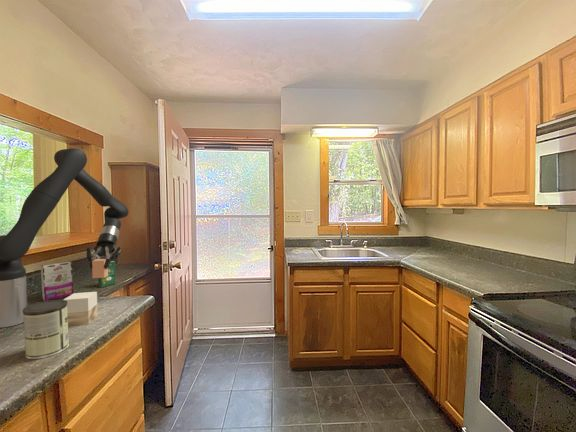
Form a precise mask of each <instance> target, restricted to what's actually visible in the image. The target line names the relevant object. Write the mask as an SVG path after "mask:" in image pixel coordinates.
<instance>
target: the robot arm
mask: <svg viewBox="0 0 576 432" xmlns="http://www.w3.org/2000/svg"><path fill="white" fill-rule="evenodd" d="M87 157H88V156H87V154H86V152H85V151H83V150H82V149H80V148H75V147H72V148H64V149H59V150H57V151H56V152H55V153H54V156H53V160H54V162H55V164H56V166H57V167H56V168H55V170H54V171H53V172H52V173H50V174H49V175H48V176H47V177H46V178H44V179H43V180H42V181H40V182H39V183H37V185H35V187H34V188H33V189H32V190H31V192H30V193H28V196H27V197H26V199H25V200H24V202H23V204H22V207H21V210H20V215H19V218H18V220H17V222H16V223H15V225H13V226H12V228H11V229H10V231H9V232H8V233H7V234H2V235H0V328H7V327H8V328H9V327H12V326H17V325H19V324H24V316H23V309H24V308H25V307H27V306H28V291H27V290H28V287H27V269H26V268H25V266H24V265H23V264H22V259H21V258H23V257H24V256H25V255H26V254H27V253H28V252H29V249H30V248H31V246H32V244H33V241H34V240H35V238H36V237H37V234H38V232H39V230H40V229H41V228H42V227H43V225H44V224H45V222H46V221H47V219H48V218H49V216H50V215H51V214H52V212H53V211H54V210H55V208H56V207H57V205H58V203H59V202H60V200H61V199H62V197H63V196H64V194H65V193H66V192H67V190H68V189H69V187H70V186H71V183H72V182H73V181H74V180H75V181H76V182H77V183H78V184H79V185H80V186H81V187H82V188H83V189H84V190H85V191H86V192H87V193H88V194H89V195H90V196H91V197H92V198H93V199H94V201H96V202H97V204H98V205H99V206H100V207H104V208H105V207H107V208H106V209H105V210H104V212H103V215H104V216H103V217H104V220H103V221H104V223H103V225H102V229H101V230H100V233H99V236H98V238H97V241H96V245H95V246H94V247H93V248H90V247H88V248H86V259H87V261H88V262H89V265H88V266H89V268H90V270H92V261H93V260H95V259H101V258H102V257H106V259H107V260H106V261H105V264H104V268H105V269H107V268H108V267H109V265H110V262H111V261H115V262H116V261H117V259H118V258H119V256H120V255H121V253H122V248H121V247H120V246H119V247H117V242H118V240H119V234H120V230H121V226H122V222H121V221H120V219H123V218H125V217H128V216H129V207H127V205H126V204H125V203H123V202H121V200H119V199H117V198H116V197H115V196H113V195H112V193H111V192H110V191H109V190H108V189H107V188H106V187H105V186H104V184H102V183H101V182H99V181H98V180H97V179H95V178H94V177H92V176H91V175H90V174H89V173H88V172H87V171H86V170H85V169H84V168H85V167H86V165H87V163H88V158H87ZM113 252H114V253H113ZM112 253H113V254H112Z"/></svg>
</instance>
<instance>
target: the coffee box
mask: <svg viewBox="0 0 576 432" xmlns="http://www.w3.org/2000/svg"><path fill="white" fill-rule="evenodd" d="M97 280H98V282H97V283H98V284H97V286H98V288H105V287H109V286H113V285H116V260H115V261H111V262H110V265H109V267H108V276H106V277H105V278H97Z"/></svg>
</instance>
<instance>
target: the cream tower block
mask: <svg viewBox="0 0 576 432" xmlns="http://www.w3.org/2000/svg"><path fill="white" fill-rule="evenodd" d="M63 300H66V301H67V313H74V312H86V311H89V310H91V309H92V308H93V307H94V306H95V305H97V306H98V291H88V292H85V291H84V292H73V294H72V295H70V296H67V297H64V299H63Z"/></svg>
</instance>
